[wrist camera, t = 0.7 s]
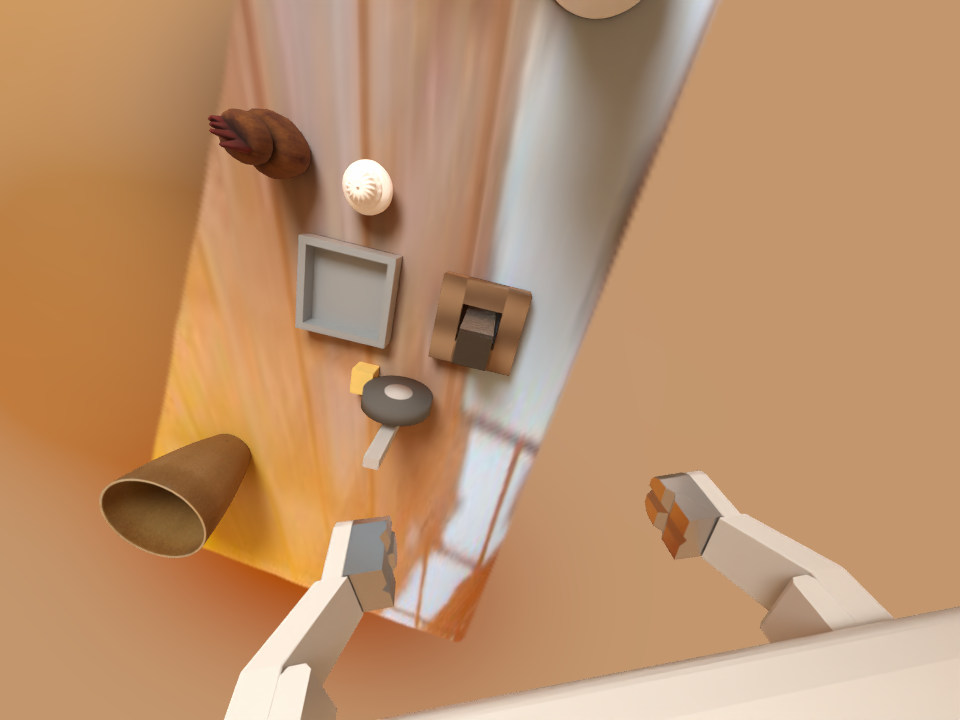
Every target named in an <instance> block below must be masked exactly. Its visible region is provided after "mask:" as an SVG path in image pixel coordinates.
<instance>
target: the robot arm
mask: <svg viewBox="0 0 960 720" xmlns="http://www.w3.org/2000/svg"><path fill="white" fill-rule="evenodd" d="M556 1H557V2H558V3H559V4H560V5H561V6H562V7H563V8H565V9H566V10H568V11H569V12H571V13H573V14H575V15H578V16H581V17H585V18H591V19H602V18H608V17H612V16H615V15H618V14H620V13H623V12H624V11H626V10H628V9H630V8H631V7H633V6H634V5H636V4H637V3H638V2H639V1H641V0H556ZM650 487H651V488H652V490H651V491H650V493H648V494H647V496H646V500H645V505H646V511H647V514H648V516H649V519H650V520H651V522H652V524H653V525H654V526H655V527H657V528H658V529H660V530H661V531H662V540H663V541H664V543H665V545H666V547H667V548H668V550H669V552H670V553H671V555H672V556H673V558H674V559H681V558H689V557H696V556H702V558H703V559H704V560H705V561H707V562H708V563H709V564H710V565H712V566H713V567H714V568H715V569H717V570H718V571H719V572H720V573H722V574H723V575H724V576H726V577H727V578H728V579H729V580H731V581H732V582H733V583H734V584H736V585H737V586H738V587H740V588H741V589H742V590H743V591H745V592H746V593H747V594H749V595H750V596H751V597H752V598H754V599H755V600H756V601H757V602H758V603H760V604H761V605H762V606H764V607H765V608H766V609H767V610H769V612H768V613H767V615H766V616H765V617H764V619H763V620H762V622H761V625H760V629H761V630H762V631H763V633H764V634H765V636H766V637H767V639H768V640H769V642H770V643H769V644H763V645H759V646H753V647H748V648H743V649H738V650H732V651H727V652H722V653H717V654H712V655H707V656H701V657H696V658H691V659H686V660H681V661H676V662H670V663H665V664H661V665H655V666H650V667H646V668H640V669H634V670H629V671H624V672H619V673H614V674H609V675H603V676H598V677H593V678H588V679H583V680H578V681H573V682H567V683H562V684H557V685H552V686H547V687H542V688H536V689H531V690H526V691H521V692H516V693H510V694H505V695H500V696H495V697H490V698H485V699H480V700H474V701H470V702H464V703H459V704H454V705H449V706H444V707H438V708H433V709H428V710H423V711H418V712H413V713H407V714H403V715H397V716H392V717H387V718H382V719H377V720H960V607H954V608H949V609H944V610H939V611H934V612H929V613H923V614H918V615H913V616H908V617H903V618H898V619H894V618H893V617H892V616H891V615H890V614H889V613H888V612H887V611H886V610H885V609H884V608H883V607H882V606H881V605H880V604H879V603H878V602H877V601H876V600H875V599H874V598H873V597H872V596H871V595H870V594H869V593H868V592H867V591H866V590H865V589H864V588H863V587H862V586H861V585H860V584H859V583H858V582H857V581H856V580H855V579H854V578H853V577H852V576H851V575H850V574H849V573H848V572H847V571H846V570H845V569H844V568H843V567H842V566H840V565H838V564H836V563H834V562H832V561H831V560H829V559H827V558H825V557H823V556H821V555H820V554H818V553H816V552H814V551H812V550H811V549H809V548H807V547H805V546H803V545H802V544H800V543H798V542H796V541H794V540H792V539H790V538H788V537H786V536H785V535H783V534H781V533H780V532H778V531H776V530H774V529H772V528H770V527H769V526H767V525H765V524H763V523H761V522H760V521H758V520H756V519H754V518H752V517H751V516H749V515H747V514H740V513H739V512H738V511H737V509H736V508H735V507H734V506H733V505H732V504H731V502H729V500H728V499H727V498H726V497H725V496H724V494H723V493H722V492H721V491H720V490H719V489H718V488H717V486H716V485H715V484H714V483H713V482H712V481H711V480H710V478H709V477H708V476H707V475H706V474H705V473H704V472H702V471H692V472H686V473H676V474H671V475H664V476H658V477H654V478H652V479H651V482H650ZM391 529H392V521H391V518H390V516H384V517H376V518H368V519H360V520H351V521H344V522H337V523H336V524H335V526H334V528H333V532H332V536H331V540H330V544H329V548H328V553H327V557H326V561H325V565H324V569H323V573H322V578H321V580H320V581H315V582H314V584H313V585H312V586H311V587H310V589H309V590H308V591H307V592H306V594H305V595H304V596H303V597H302V598H301V600H300V601H299V602H298V603H297V605H296V606H295V607H294V608H293V610H292V611H291V612H290V613H289V614H288V615H287V617H286V618H285V619H284V620H283V622H282V623H281V624H280V625H279V626H278V628H277V629H276V630H275V631H274V633H273V634H272V635H271V636H270V638H269V639H268V640H267V641H266V642H265V644H264V645H263V646H262V647H261V649H260V650H259V651H258V652H257V654H256V655H255V656H254V657H253V658H252V659H251V661H250V662H249V663H248V664H247V666H246V667H245V668H244V669H243V670H242V672H241V673H240V676H239V679H238V682H237V685H236V687H235V690H234V693H233V696H232V699H231V702H230V704H229V707H228V710H227V713H226V716H225V719H224V720H335V719H336V712H337V708H336V706H335V705H334V703H333V701H332V700H331V698H330V697H329V695H328V694H327V693H326V691H325V689H324V688H323V686H322V685H323V684H324V682H325V680H326V679H327V677H328V675H329V673H330V672H331V670H332V668H333V666H334V665H335V663H336V661H337V659H338V658H339V656H340V654H341V653H342V651H343V649H344V647H345V645H346V643H347V642H348V640H349V639H350V637H351V635H352V633H353V632H354V630H355V628H356V626H357V625H358V623H359V621H360V619H361V618H362V616H363V612H367V611H373V610H378V609H383V608H388V607H393V606H394V598H395V584H396V581H395V578H394V574H393V570H394V569H395V568H396V566H397V542H396V536H395V532H393V531H392V530H391Z"/></svg>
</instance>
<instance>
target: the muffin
mask: <svg viewBox="0 0 960 720" xmlns="http://www.w3.org/2000/svg"><path fill="white" fill-rule="evenodd" d="M342 187H343V192H344V195H345V198H346V200H347V201H348V203H349V204H350V205H351V207H352V208H353V209H355V210H356V211H357V212H359V213H361V214H364V215H376V214H379V213H381V212H383V211H384V210H385V209H386V208H387V207H388V206H389V205H390V203H391V200H392V196H393V185H392V181H391V179H390V176H389V175H388V173H387V172H386V170H385V169H384V168H383V167H382V166H381V165H380V164H378V163H377V162H375V161H372V160H367V159H364V160H359V161H356V162H354V163H352V164H351V165H350V166H349V167H348V168H347V170H346V171H345V173H344V176H343V181H342Z"/></svg>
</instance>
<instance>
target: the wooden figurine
mask: <svg viewBox="0 0 960 720" xmlns="http://www.w3.org/2000/svg"><path fill="white" fill-rule="evenodd" d="M208 120H210V121H211V122H210V124H209V125H210V126H211V127H213V128H215V129H210V130H209V131H210V132H211V133H213V134H215V135H217V136H219V139H220V143H219V145H220V146H221V147H224V148H225V150H226V151H227V152H228V153H229V154H230V155H231V156H232V157H234V158H235V159H237V160H238V161H240V162H242V163H245V164H249V165H254V167H255V168H256V169H257V170H258V171H259V172H261V173H263V174H265V175H266V176H268V177H271V178H274V179H286V178H292V177H295V176H297V175H300V174H302V173H304V172H305V171H306V169H307V168H308V167H309V164H310V160H311V154H310V149H309V145H308V143H307V141H306V139H305V138H304V136H303V134H302V133H301V132H300V131H299V130H298V128H297V127H296V126H295V125H294V124H293V122H291V121H290V120H289V119H287V118H286V117H284V116H282V115H280V114H278V113H276V112H274V111H271V110H268V109H251V110H249V111H244V110H240V109H229V110H227V111H225V112H223V113H222V115H221V116H214V115H210V117H209V118H208Z"/></svg>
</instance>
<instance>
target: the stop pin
mask: <svg viewBox="0 0 960 720" xmlns="http://www.w3.org/2000/svg"><path fill="white" fill-rule="evenodd" d="M495 319H496V312H495V311H491V310H487V309H483V308H479V307H474V306H470V305H469V307H468V310H467V312H466V315H465V317H464V319H463V322H462V324H461V327H460V329H459V332H458V336H457V341H456V345H455V350H454V354H453V359H452V363H454V364H458V365H463V366H467V367H471V368H475V369H479V370H483V371H485V368H486V364H487V361H488V357H489V353H490V349H491V345H492V342H493V335H494V327H495Z"/></svg>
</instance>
